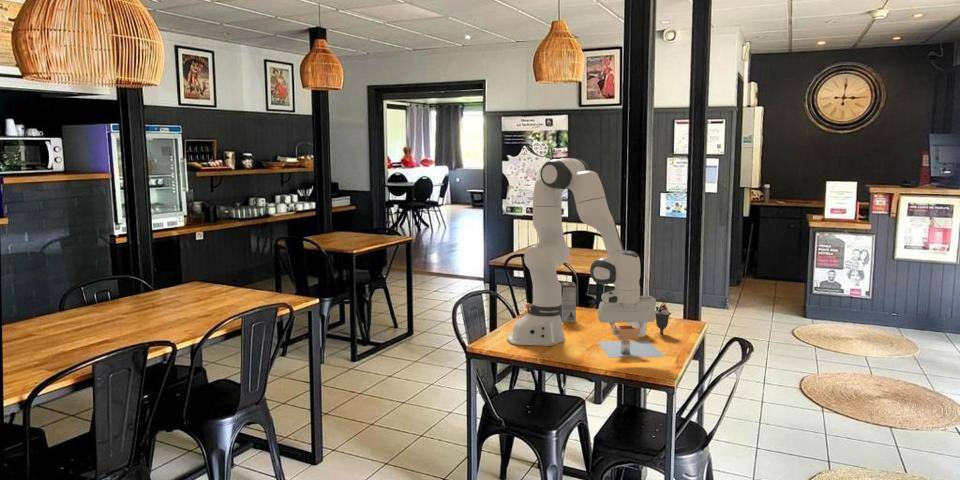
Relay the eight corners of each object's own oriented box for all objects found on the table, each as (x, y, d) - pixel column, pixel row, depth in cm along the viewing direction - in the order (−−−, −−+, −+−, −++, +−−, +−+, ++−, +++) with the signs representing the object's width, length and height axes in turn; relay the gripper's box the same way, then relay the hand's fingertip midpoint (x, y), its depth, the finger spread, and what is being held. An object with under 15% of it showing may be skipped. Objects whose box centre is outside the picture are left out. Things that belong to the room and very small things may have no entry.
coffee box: (559, 316, 297) (559, 281, 294) (573, 316, 296) (574, 281, 294) (561, 322, 287) (562, 285, 285) (576, 322, 287) (577, 285, 285)
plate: (609, 361, 233) (609, 357, 232) (596, 345, 252) (596, 341, 252) (665, 360, 234) (665, 356, 233) (648, 344, 253) (648, 340, 253)
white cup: (622, 336, 264) (623, 312, 263) (638, 334, 267) (639, 310, 266) (634, 341, 257) (635, 316, 256) (651, 339, 260) (651, 314, 259)
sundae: (671, 340, 259) (672, 302, 257) (653, 339, 260) (654, 302, 258) (669, 335, 265) (671, 299, 263) (652, 335, 267) (653, 298, 265)
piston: (622, 354, 236) (622, 342, 236) (619, 351, 239) (620, 339, 239) (631, 354, 236) (631, 341, 236) (628, 351, 239) (629, 339, 239)
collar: (619, 339, 233) (619, 330, 233) (614, 334, 240) (614, 325, 240) (638, 339, 234) (638, 329, 233) (633, 334, 240) (633, 324, 240)
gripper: (653, 293, 239) (652, 331, 240) (597, 294, 238) (596, 332, 239) (658, 297, 232) (657, 335, 234) (601, 298, 231) (600, 336, 233)
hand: (626, 333), depth 237 cm, fingers closed on collar, 7 cm apart
